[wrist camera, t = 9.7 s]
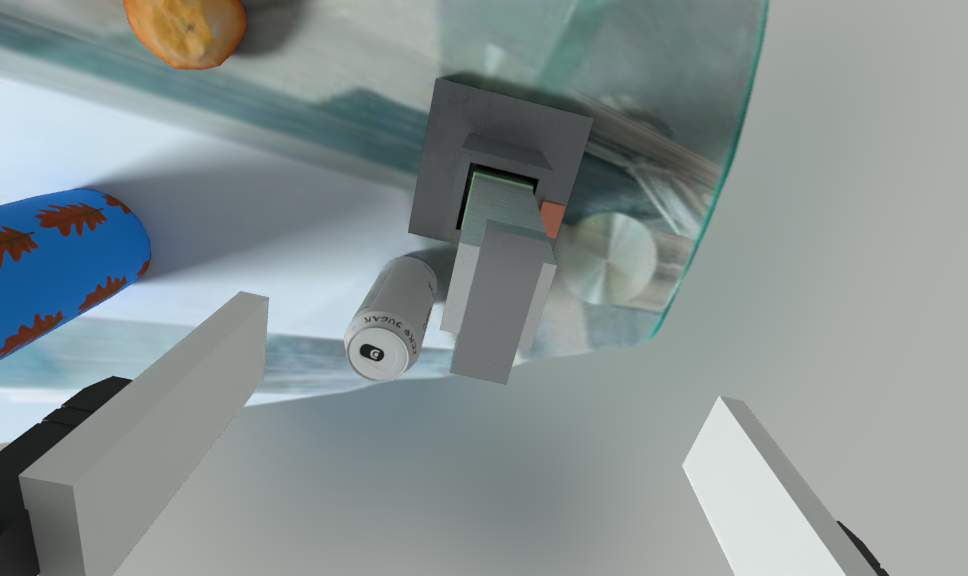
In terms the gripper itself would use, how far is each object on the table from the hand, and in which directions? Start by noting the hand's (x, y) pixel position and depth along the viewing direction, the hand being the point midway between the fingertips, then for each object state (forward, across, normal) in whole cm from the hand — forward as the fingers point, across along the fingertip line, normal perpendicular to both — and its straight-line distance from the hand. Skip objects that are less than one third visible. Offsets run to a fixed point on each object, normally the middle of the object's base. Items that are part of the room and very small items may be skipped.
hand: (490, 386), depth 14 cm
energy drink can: (+35, -6, -13) cm, 38 cm away
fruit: (+35, -27, +7) cm, 45 cm away
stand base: (+35, 0, 0) cm, 35 cm away
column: (+26, 0, 0) cm, 26 cm away
